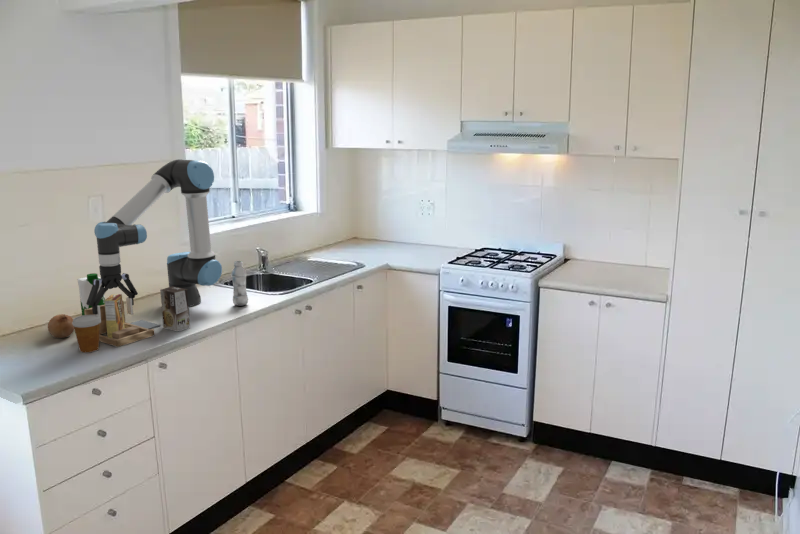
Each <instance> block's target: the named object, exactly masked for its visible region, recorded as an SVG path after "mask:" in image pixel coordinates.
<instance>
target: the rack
mask: <svg viewBox="0 0 800 534" xmlns="http://www.w3.org/2000/svg"><path fill="white" fill-rule="evenodd" d="M124 301H125V300H122V302H123V316H124V328H129V327H132V326H133V327H137V328H139V332H140V333H136V334H133V335H130V336H126V337H123V338H120V339H116V340H115V339H112V338H109V337H108V336H107V335H103V334H107V324H106V313H105V305H101V306H100V313H101V323H100V329H99V342H101V343H104V344H108V345H111V346H114V347H117V348H119V347H122V346H125V345H128V344H131V343H135V342H139V341H141V340H144V339H147V338H150V337H154V336H155V328H153V329H147V328H144V327H140V326H137V325H133V324H130V323H131V322H130V323H128V322H126V315H125V304H124V303H125V302H124ZM84 313H85V315H95V314H93V311H92V308H89V309H85V310H84Z"/></svg>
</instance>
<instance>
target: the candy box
mask: <svg viewBox="0 0 800 534" xmlns="http://www.w3.org/2000/svg"><path fill="white" fill-rule="evenodd" d="M122 301H123V295H122V293H119V294H118V293H114V294H113V293H112V294H110V295H109V296H108V297H106V298H105V300H104V302H105V313H106V324H107V333H106V334H107V335H106V337H109V338H113V337H112V332H116V331H119V330H122V329H125V328H124V316H123V302H122Z"/></svg>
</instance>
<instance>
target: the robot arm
mask: <svg viewBox="0 0 800 534" xmlns="http://www.w3.org/2000/svg"><path fill="white" fill-rule="evenodd" d="M150 179H151V180H150V181H148V183H146V184H145V186H143V187H142V188H141V189H140V190H139V191H138V192H137V193H136V194H135V195H133V197H131V198H130V199H129V200H128V201H127V202H126V203H125V204H124V205H123V206H122V207H120V208H119V209H118V210H117V212H115V213H114V215H112V216H111V217H110V218H109V219H108V220H107V221H101V222H98V223H96V225H95V227H94V235H95V238H96V244H97V245H96V246H97V258H98V264H99V266H98V268H99V275H100V277H101V279H100V280H96V279H93V286H92V289H91V291H90V294H89V297H88V300H87V303H86V304H87V305H90V306H92V311H93V314H95V315H98V316H99V318H100V319H101V313H100V306H98V304H99V302H100V301H101V299H102V297H103V296H104V295H105V294H106V293H107V291H108V290H111V289H116V288H118V289H120V291H122V293H124V294H125V295H126V297H125V302H126V303H125V304H126V305H125V306H126V313H127V315H128V314H129V315H131V316H132V315H134V311H133V308H134V307H133V306H134V305H135V303H134V299H135V298H136V296H138V295H139V294H138V290H137V289H136V287H135V286H134V284H133V282H132V280H131V279H130V275H129V274H128V273H125V272H123V273H122V265H121V264H120V263H122V261H121V252H120V248H122V247H127V246H133V245H139V244H143V243H145V242H146V240H147V239H148V238H147V237H148V233H147V229H146V227H145V226H144V225H142V224H134V223H135V222H136V221H137V220H139V218H140V217H141V216H142V215H144V214H145V213H146V212H147V211H148V210H149V209H150V208H151V207H152V206H153V205H154V204H155V203H156V202H157V201H158V200H159V199H160V198H161V197H163V195H164V194H168V193H170V192H171V191H172V190H174V189H176V188H180V194H182V195H183V196H184V198H185V207H186V217H187V225H188V226H187V228H188V229H187V230H188V238H189V247H190V249H189V250H190V251H183V252H175V253H172V254H169V255H168V256H166V257H167V258H166V267H167V278H168V279H167V280H168V287H172V286H174V287H179V288H184V289H187V295H188V308H189V307H194V306H197V305H199V304H200V303H202V297H201V293H200V292H199V289H198V287H197V285H199V286H206V287H210V286H213V285H215V284H216V283H217V282H218V281H219V279H220V278H221V276H222V273H223V267H222V264H221V262H220V261H219V260H217V259H216V253H215V251H213V250H212V244H211V234H210V233H211V232H210V222H209V212H208V211H209V209H208V201H207V196H208V194H209V193H210V191H211V190H210V188H211V187H212V186H213V183H214V181H215V173H214V169H213V168H212V167H211V165H210V164H209V163H207V162H205V161H204V160H197V159H174V160H172V161H169V162H168V163H167V162H166V164H165V165H163V166H162V167H160V168H158V170H156V171H155V172H154V173H153V174H151V178H150ZM122 280H123V282H124V284H125V285H126V286H125V285H124V284H123V282H122ZM100 283H102V285H101V286H100V290H99V291H98V289H99V285H100ZM97 292H98V293H97ZM100 323H101V321H100Z"/></svg>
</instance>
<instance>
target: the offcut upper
mask: <svg viewBox="0 0 800 534" xmlns="http://www.w3.org/2000/svg"><path fill="white" fill-rule="evenodd" d="M136 333H140V332H139V328H137V327H133V326H132V327H129V328H125V329H122V330H119V331H116V332H112V337H113V338H114V339H120V338H123V337H126V336H130V335H133V334H136Z"/></svg>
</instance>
